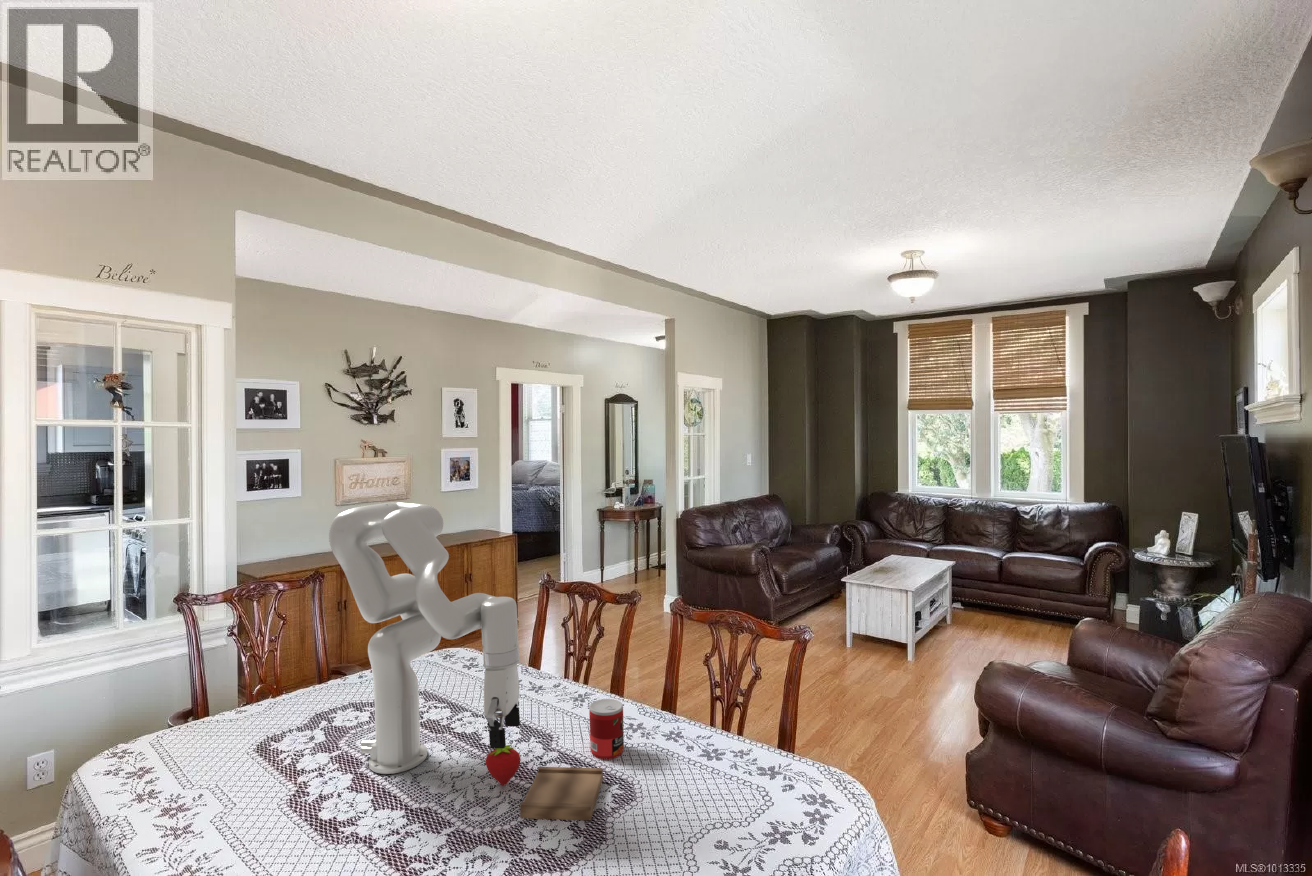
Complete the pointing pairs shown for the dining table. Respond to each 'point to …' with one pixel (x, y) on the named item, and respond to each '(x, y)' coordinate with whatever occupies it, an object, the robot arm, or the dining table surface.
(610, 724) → the canned food
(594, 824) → the dining table surface
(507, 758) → the strawberry
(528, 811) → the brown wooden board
